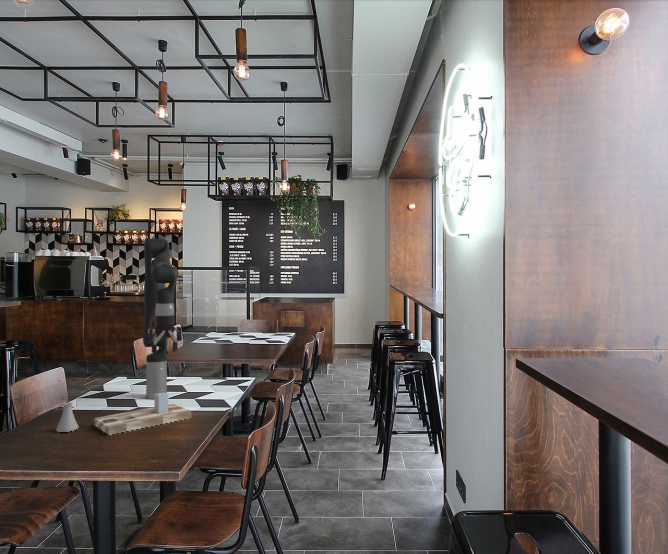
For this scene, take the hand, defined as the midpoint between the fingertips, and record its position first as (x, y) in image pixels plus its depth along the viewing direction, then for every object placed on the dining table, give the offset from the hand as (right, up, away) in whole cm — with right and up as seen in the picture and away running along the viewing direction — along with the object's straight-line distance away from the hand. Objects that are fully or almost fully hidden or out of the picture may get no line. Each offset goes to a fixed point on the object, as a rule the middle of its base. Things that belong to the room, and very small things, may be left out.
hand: (164, 352), depth 208 cm
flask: (-28, -26, -24) cm, 45 cm away
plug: (+2, -25, -9) cm, 27 cm away
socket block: (-3, -25, -13) cm, 29 cm away
